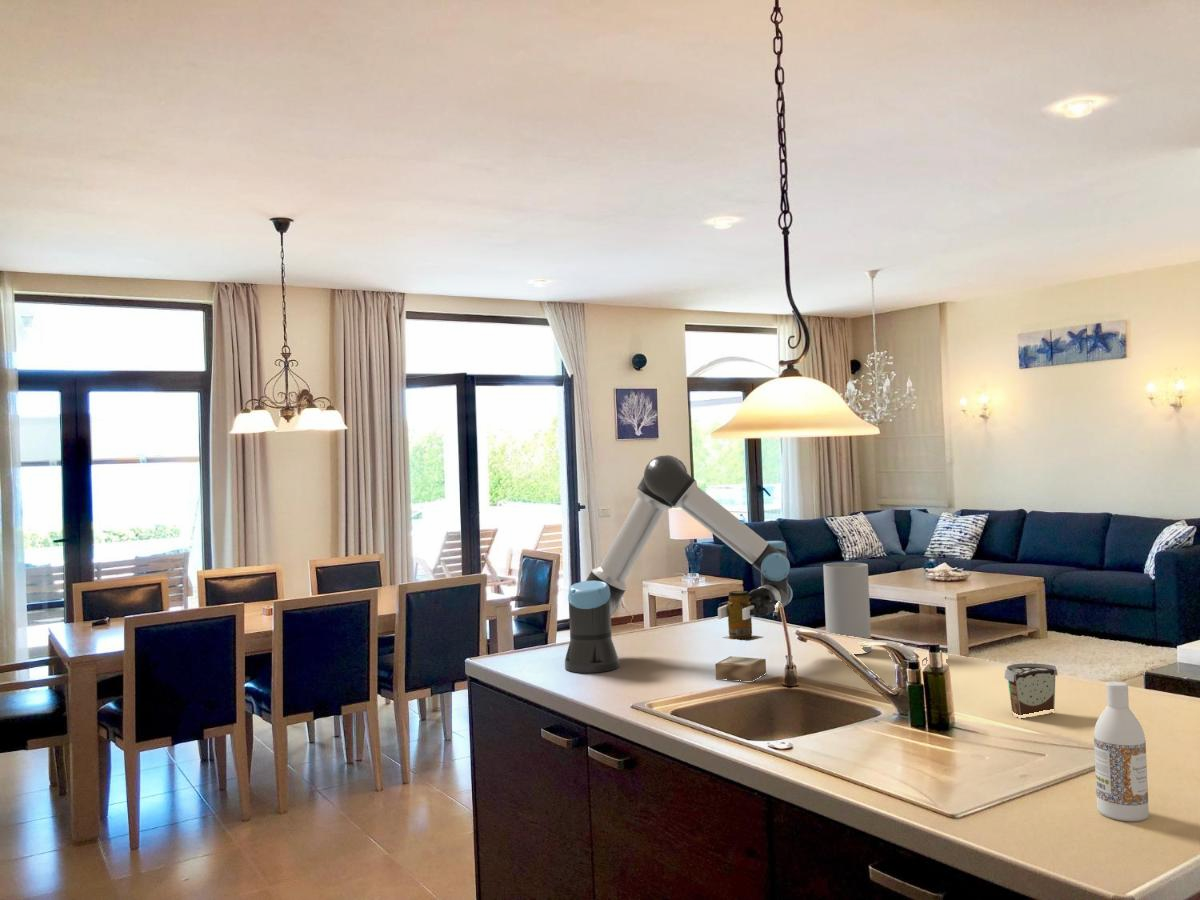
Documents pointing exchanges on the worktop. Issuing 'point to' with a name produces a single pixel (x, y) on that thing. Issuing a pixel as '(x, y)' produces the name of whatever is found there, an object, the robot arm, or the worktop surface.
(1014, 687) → the food container
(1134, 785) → the bath foam
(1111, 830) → the worktop surface
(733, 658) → the plinth
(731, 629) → the condiment
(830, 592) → the cylinder vase
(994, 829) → the worktop surface
